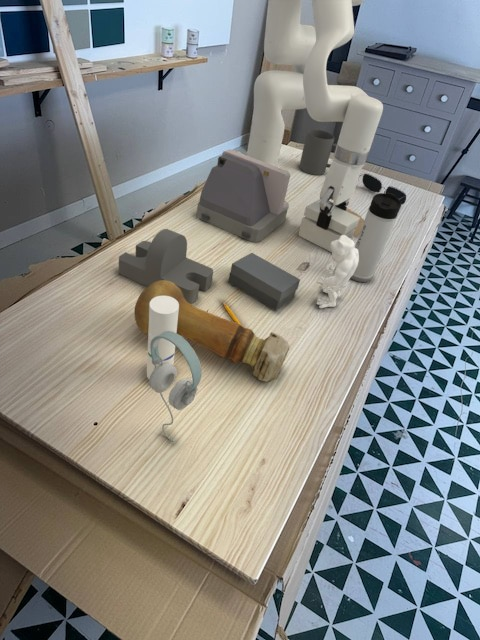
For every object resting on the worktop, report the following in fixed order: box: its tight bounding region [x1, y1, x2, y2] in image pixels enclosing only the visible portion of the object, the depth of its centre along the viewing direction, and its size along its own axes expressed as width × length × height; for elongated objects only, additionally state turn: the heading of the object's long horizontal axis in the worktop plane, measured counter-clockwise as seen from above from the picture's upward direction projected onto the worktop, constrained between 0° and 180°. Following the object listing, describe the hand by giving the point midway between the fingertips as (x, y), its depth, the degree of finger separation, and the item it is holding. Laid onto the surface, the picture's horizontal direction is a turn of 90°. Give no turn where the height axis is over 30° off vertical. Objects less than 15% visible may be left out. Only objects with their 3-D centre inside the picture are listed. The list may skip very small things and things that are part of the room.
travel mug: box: [350, 192, 402, 283], centre depth 106 cm, size 6×7×20 cm
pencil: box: [222, 301, 244, 327], centre depth 89 cm, size 1×19×1 cm, turn 27°
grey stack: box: [227, 252, 301, 312], centre depth 99 cm, size 13×7×5 cm, turn 51°
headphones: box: [148, 331, 202, 443], centre depth 62 cm, size 8×4×20 cm, turn 49°
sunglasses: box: [359, 173, 407, 206], centre depth 146 cm, size 17×15×5 cm
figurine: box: [315, 235, 359, 309], centre depth 97 cm, size 11×7×15 cm, turn 157°
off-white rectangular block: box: [298, 216, 355, 253], centre depth 121 cm, size 12×7×5 cm, turn 52°
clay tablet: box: [346, 208, 365, 238], centre depth 131 cm, size 14×10×3 cm
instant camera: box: [196, 148, 291, 243], centre depth 120 cm, size 21×21×15 cm
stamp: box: [134, 280, 290, 383], centre depth 81 cm, size 10×28×15 cm, turn 69°
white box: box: [303, 198, 360, 235], centre depth 118 cm, size 12×7×2 cm, turn 51°
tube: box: [146, 296, 179, 380], centre depth 73 cm, size 4×4×15 cm
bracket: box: [118, 228, 214, 305], centre depth 95 cm, size 10×18×11 cm, turn 63°
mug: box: [299, 128, 337, 176], centre depth 155 cm, size 14×9×12 cm
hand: (329, 222), depth 119 cm, fingers closed on white box, 7 cm apart
